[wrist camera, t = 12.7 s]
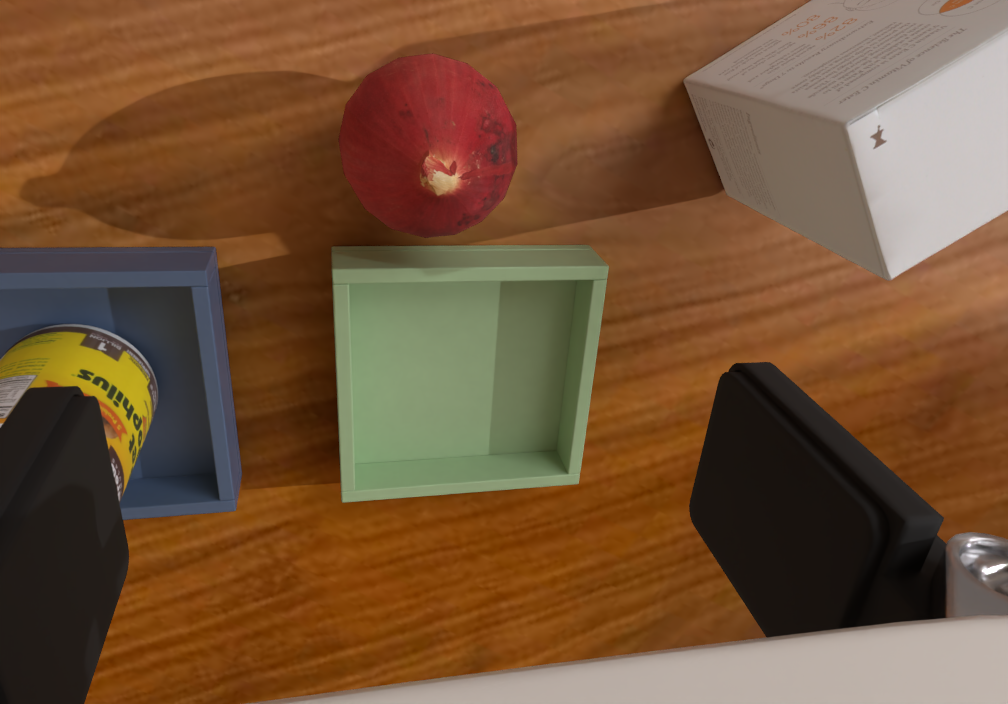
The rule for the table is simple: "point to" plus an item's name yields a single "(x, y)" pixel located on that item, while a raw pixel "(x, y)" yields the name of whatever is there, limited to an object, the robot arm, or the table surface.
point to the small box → (866, 124)
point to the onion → (428, 145)
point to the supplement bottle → (88, 383)
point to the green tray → (463, 366)
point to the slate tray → (146, 357)
